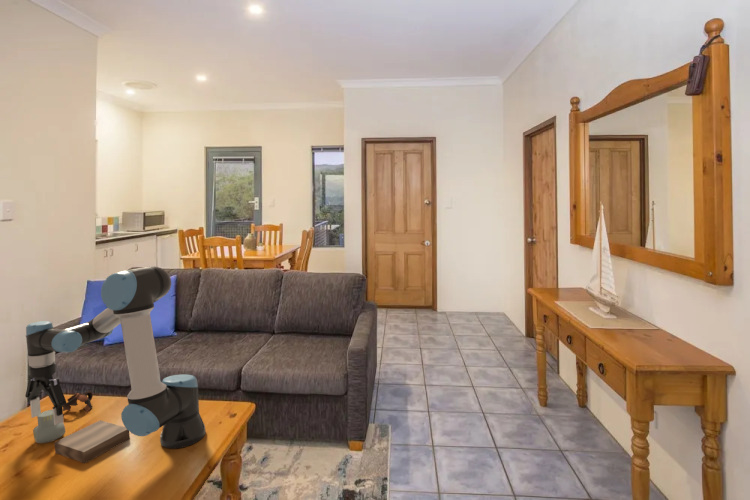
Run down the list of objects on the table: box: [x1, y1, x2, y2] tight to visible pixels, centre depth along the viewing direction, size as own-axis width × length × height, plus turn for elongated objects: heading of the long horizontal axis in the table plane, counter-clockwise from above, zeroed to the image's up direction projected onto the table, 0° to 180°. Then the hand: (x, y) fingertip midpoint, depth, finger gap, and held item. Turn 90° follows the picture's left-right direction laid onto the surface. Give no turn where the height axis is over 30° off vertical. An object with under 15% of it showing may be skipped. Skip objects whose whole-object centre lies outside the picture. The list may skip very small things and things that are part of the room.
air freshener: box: [32, 409, 66, 444], centre depth 152 cm, size 11×8×10 cm
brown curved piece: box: [62, 390, 94, 413], centre depth 175 cm, size 12×10×8 cm
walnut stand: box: [53, 420, 131, 464], centre depth 147 cm, size 16×16×4 cm
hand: (47, 419), depth 152 cm, fingers open, 13 cm apart
